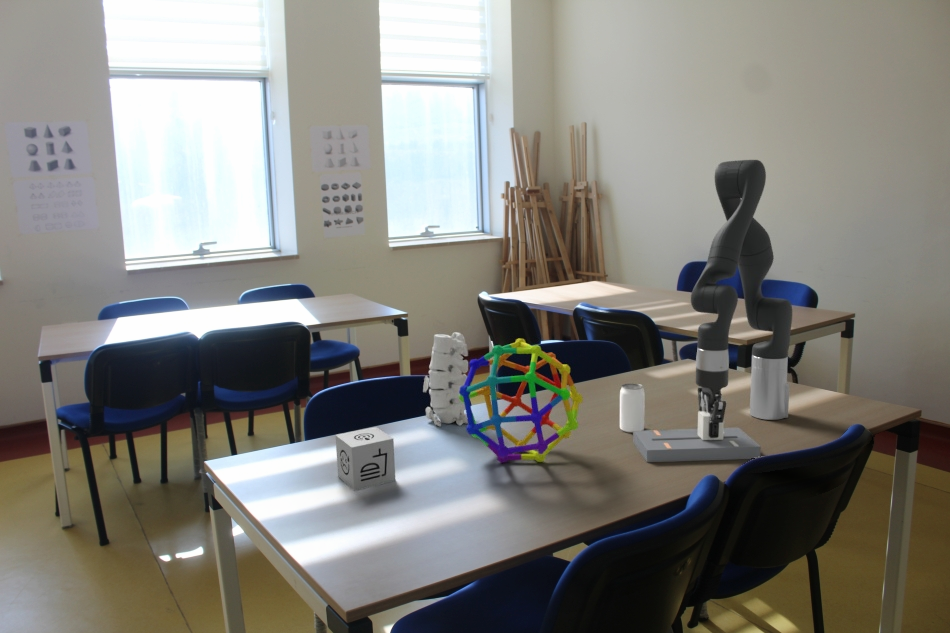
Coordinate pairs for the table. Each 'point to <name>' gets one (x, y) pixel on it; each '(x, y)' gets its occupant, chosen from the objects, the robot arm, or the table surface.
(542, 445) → the geometric model
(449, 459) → the table surface
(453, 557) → the table surface
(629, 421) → the can
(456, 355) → the anatomical model
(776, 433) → the table surface
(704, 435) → the fader cap
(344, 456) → the icon cube
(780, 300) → the robot arm
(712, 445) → the slide board
